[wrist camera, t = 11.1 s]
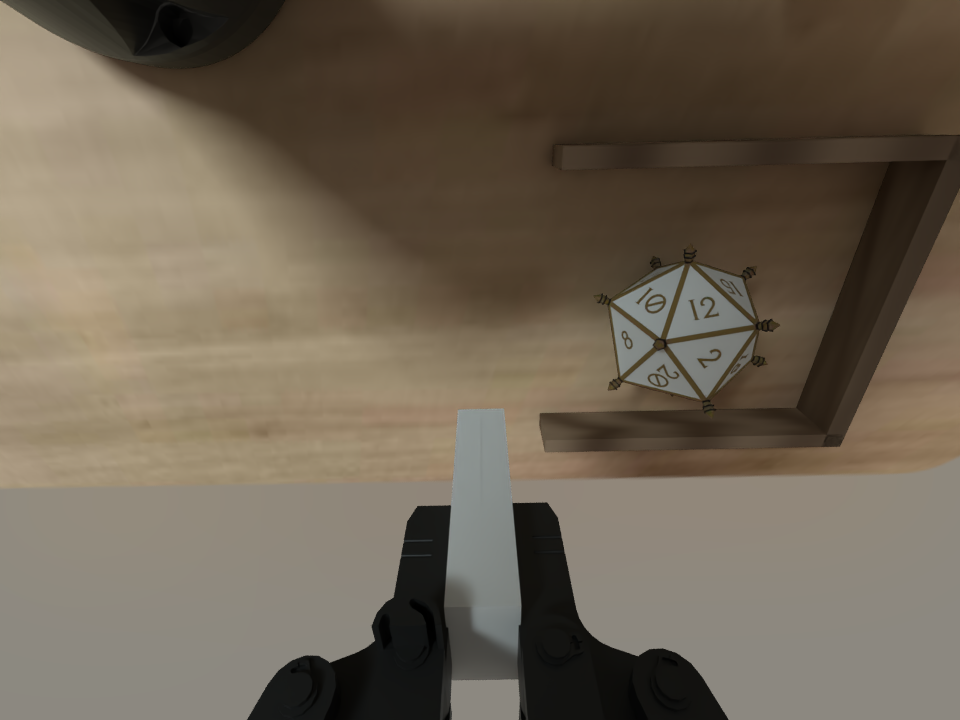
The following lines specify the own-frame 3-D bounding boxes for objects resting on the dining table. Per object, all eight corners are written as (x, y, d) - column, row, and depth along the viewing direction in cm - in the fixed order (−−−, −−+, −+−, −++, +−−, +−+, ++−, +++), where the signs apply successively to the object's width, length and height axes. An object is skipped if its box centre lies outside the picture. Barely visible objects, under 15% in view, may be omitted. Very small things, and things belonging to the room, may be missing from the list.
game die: (646, 307, 31) (692, 445, 27) (550, 285, 27) (585, 443, 23) (769, 222, 24) (858, 390, 20) (663, 176, 20) (745, 375, 16)
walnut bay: (539, 424, 31) (545, 452, 28) (553, 144, 23) (563, 146, 20) (808, 419, 31) (840, 446, 28) (923, 134, 22) (984, 135, 20)
